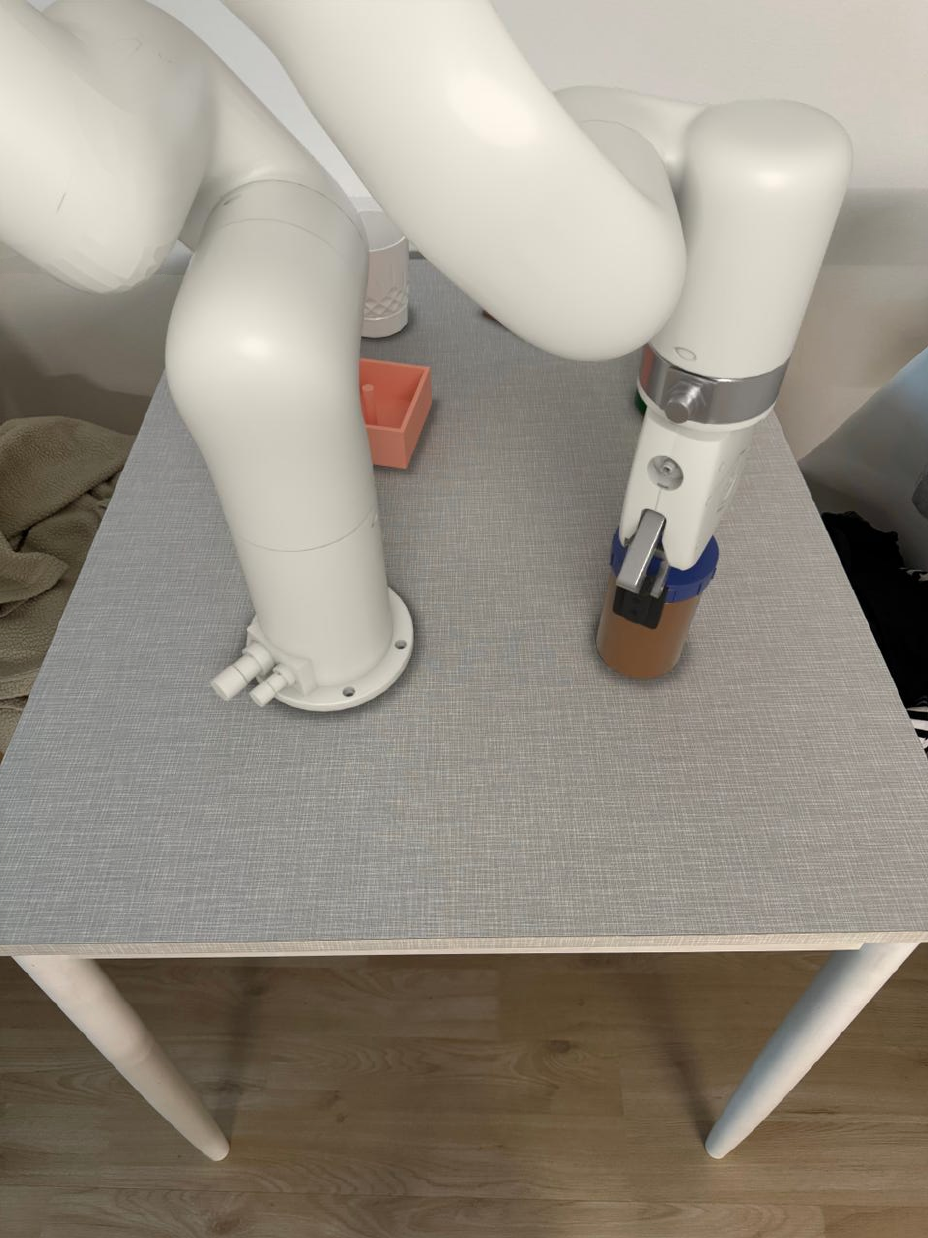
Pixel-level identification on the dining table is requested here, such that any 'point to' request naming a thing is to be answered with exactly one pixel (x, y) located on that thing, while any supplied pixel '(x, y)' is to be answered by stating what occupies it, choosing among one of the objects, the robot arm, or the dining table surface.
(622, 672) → the jar
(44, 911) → the dining table surface
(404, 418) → the salmon pink open box
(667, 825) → the dining table surface
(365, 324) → the white cup
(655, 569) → the lid
